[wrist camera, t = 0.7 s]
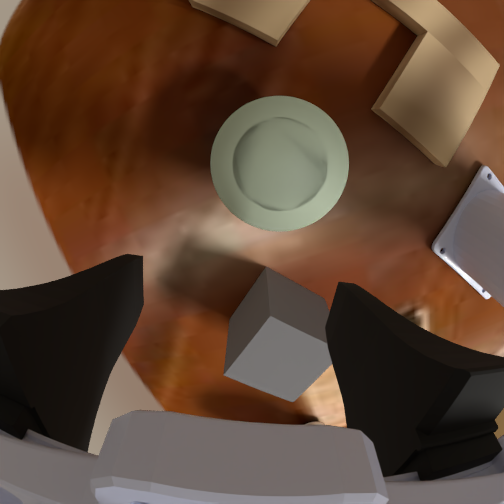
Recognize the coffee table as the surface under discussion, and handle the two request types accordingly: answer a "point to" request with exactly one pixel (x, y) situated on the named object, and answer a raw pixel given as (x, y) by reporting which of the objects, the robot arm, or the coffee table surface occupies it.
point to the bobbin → (279, 163)
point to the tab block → (278, 337)
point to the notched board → (400, 67)
